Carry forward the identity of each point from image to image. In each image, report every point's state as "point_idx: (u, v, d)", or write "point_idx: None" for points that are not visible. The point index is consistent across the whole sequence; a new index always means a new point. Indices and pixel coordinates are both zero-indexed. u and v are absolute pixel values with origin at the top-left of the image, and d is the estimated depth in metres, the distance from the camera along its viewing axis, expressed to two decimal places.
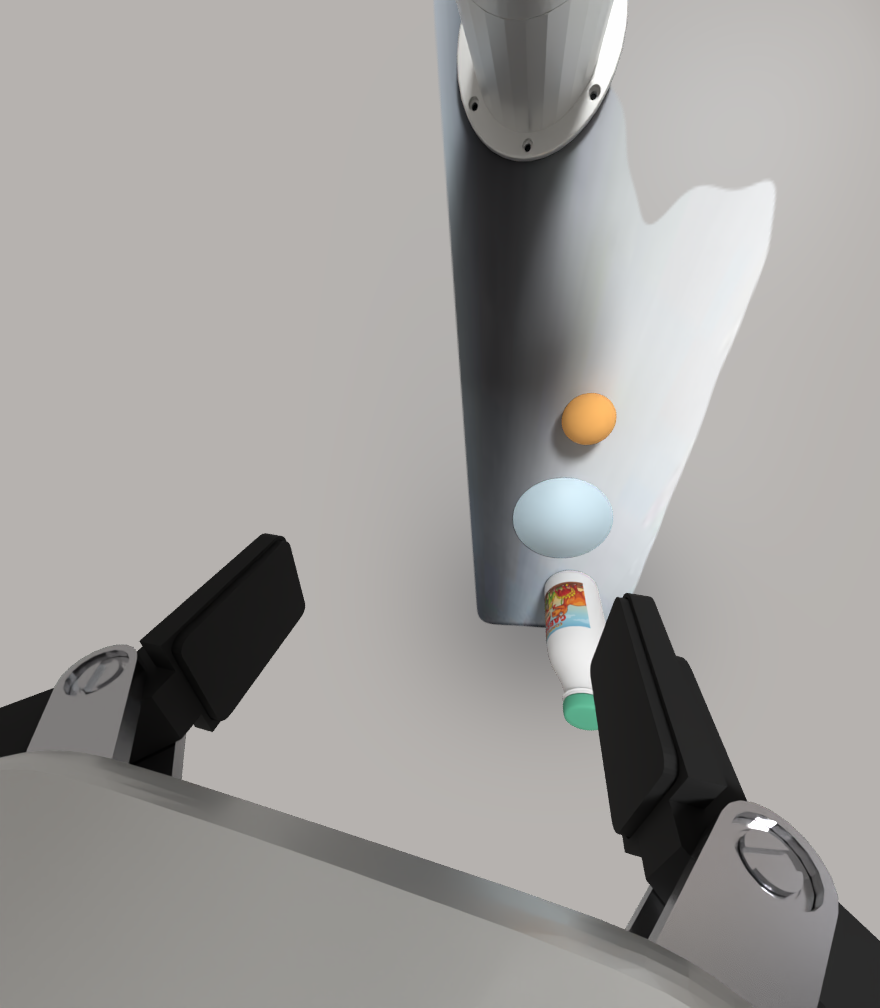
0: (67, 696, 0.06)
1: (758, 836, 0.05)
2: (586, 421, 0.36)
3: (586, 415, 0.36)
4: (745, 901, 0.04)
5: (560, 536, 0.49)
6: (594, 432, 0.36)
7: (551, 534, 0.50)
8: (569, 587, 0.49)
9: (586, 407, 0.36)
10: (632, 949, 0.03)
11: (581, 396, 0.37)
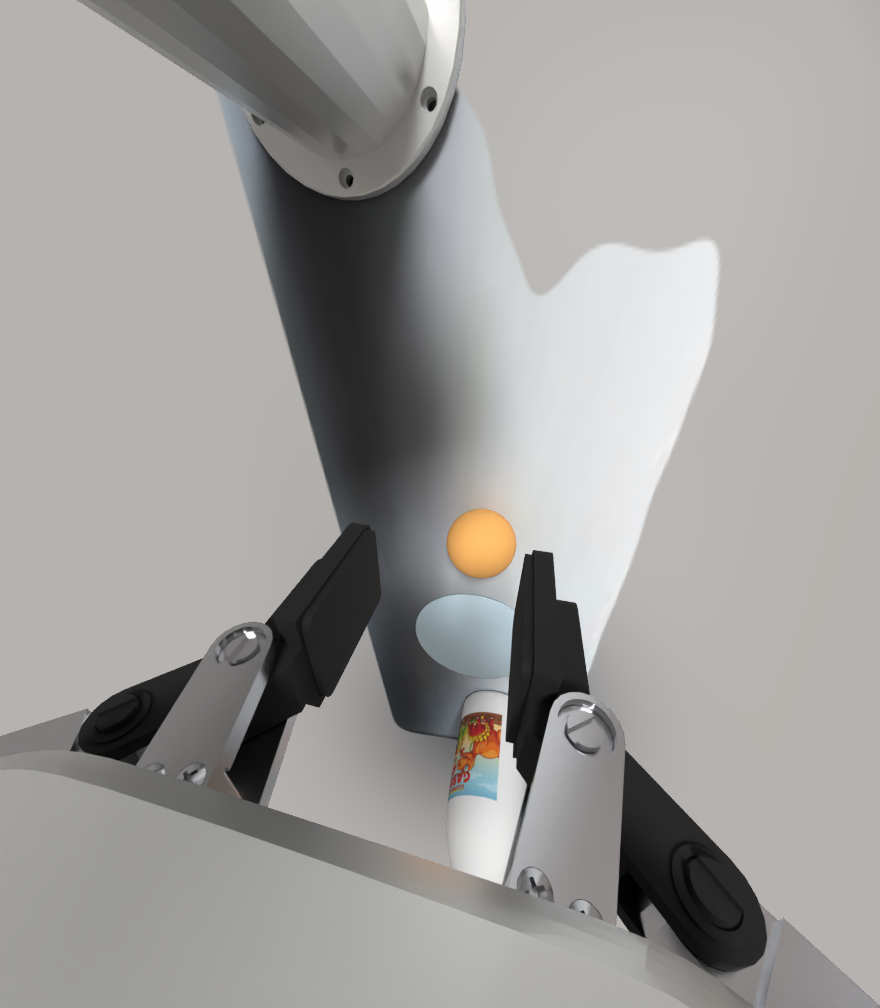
0: (220, 666, 0.07)
1: (575, 716, 0.06)
2: (468, 557, 0.26)
3: (468, 549, 0.26)
4: (573, 770, 0.05)
5: (474, 655, 0.39)
6: (481, 570, 0.26)
7: (464, 652, 0.39)
8: (485, 721, 0.39)
9: (469, 538, 0.26)
10: (632, 950, 0.03)
11: (467, 516, 0.27)
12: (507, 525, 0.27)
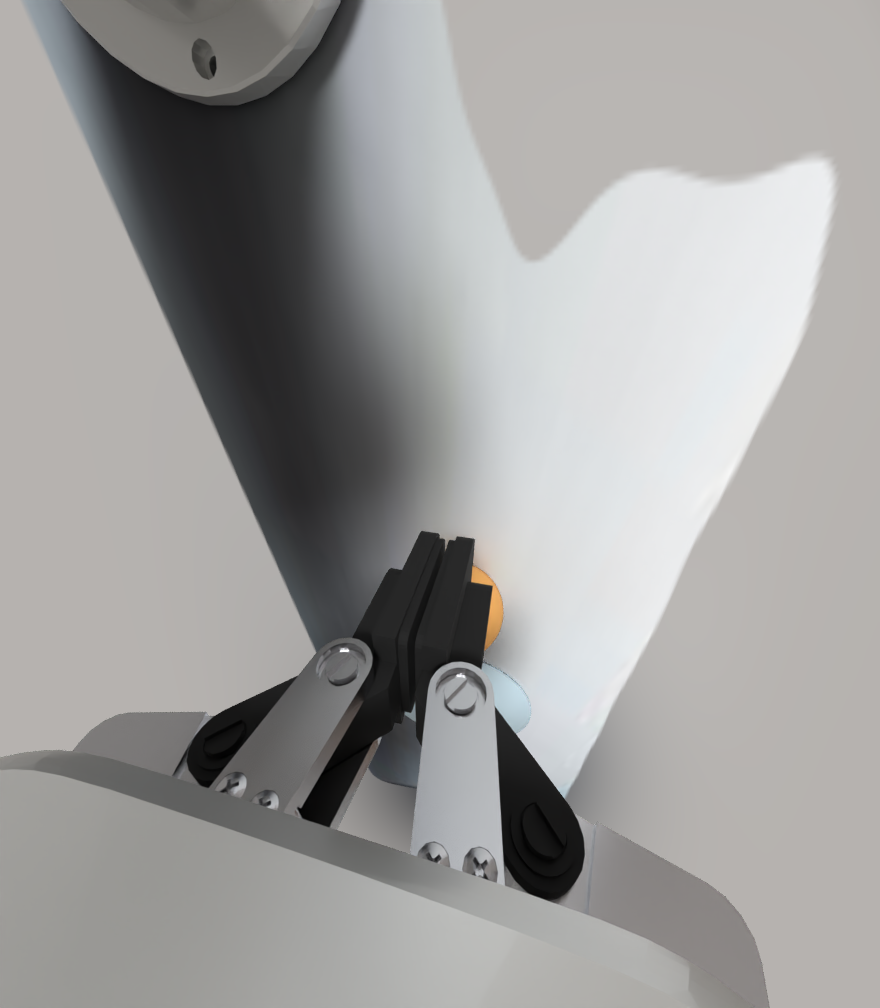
0: (325, 686, 0.06)
1: (451, 685, 0.07)
2: None
3: None
4: (454, 735, 0.06)
5: None
6: None
7: None
8: None
9: None
10: (632, 950, 0.03)
11: None
12: None
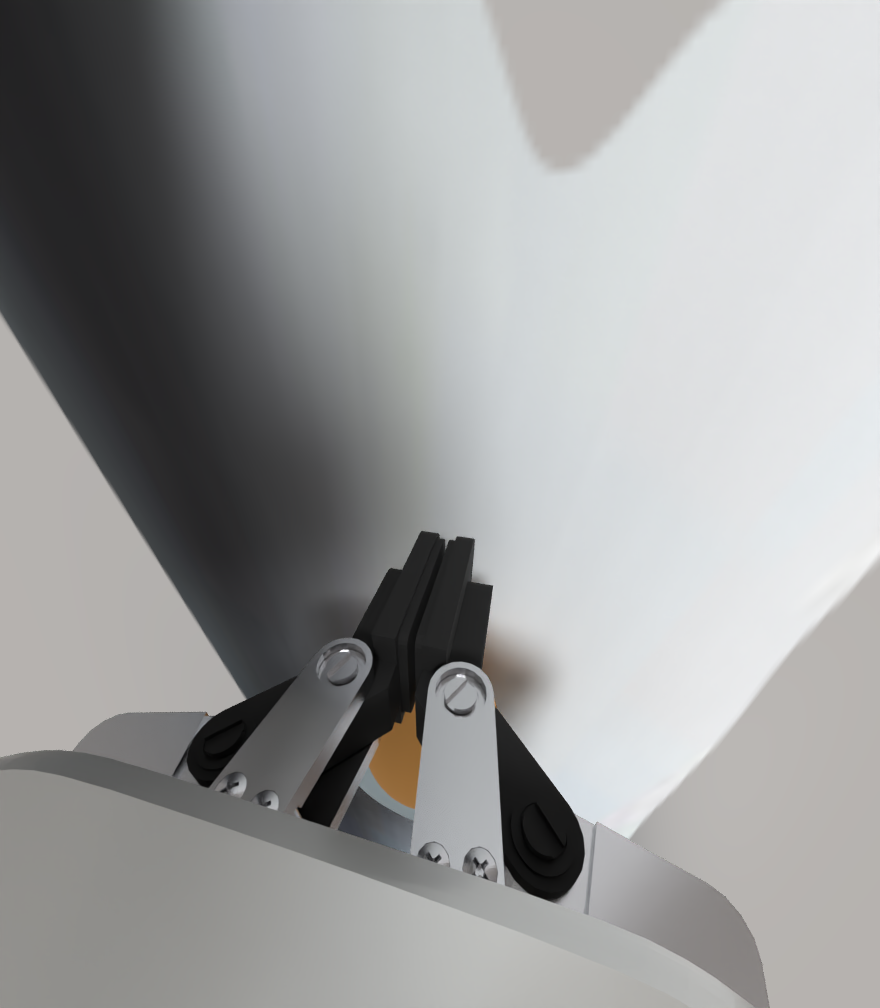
0: (325, 687, 0.06)
1: (451, 685, 0.07)
2: (395, 787, 0.12)
3: (393, 772, 0.12)
4: (454, 735, 0.06)
5: None
6: None
7: None
8: None
9: (395, 749, 0.12)
10: (632, 950, 0.03)
11: None
12: None
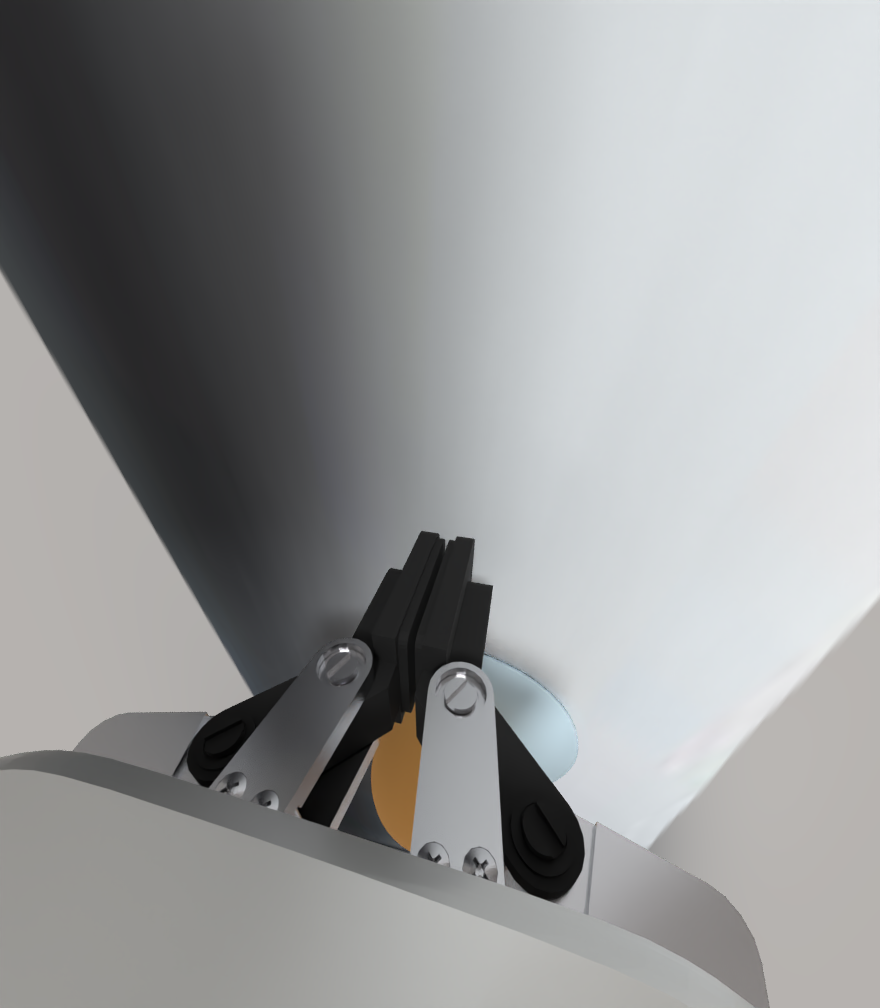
0: (325, 687, 0.06)
1: (451, 685, 0.07)
2: None
3: None
4: (454, 736, 0.06)
5: None
6: None
7: None
8: None
9: None
10: (632, 949, 0.03)
11: None
12: None
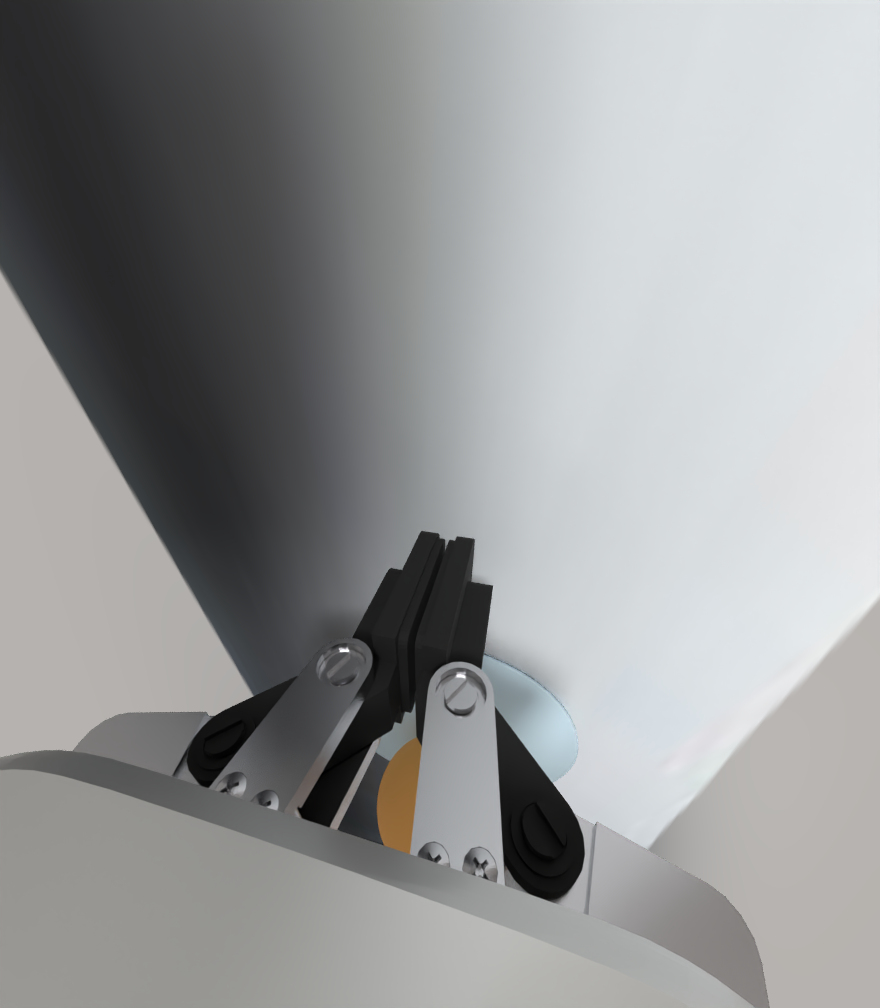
0: (325, 687, 0.06)
1: (451, 685, 0.07)
2: (407, 845, 0.15)
3: (407, 828, 0.15)
4: (454, 735, 0.06)
5: None
6: None
7: None
8: None
9: (410, 805, 0.15)
10: (631, 950, 0.03)
11: (413, 753, 0.17)
12: None
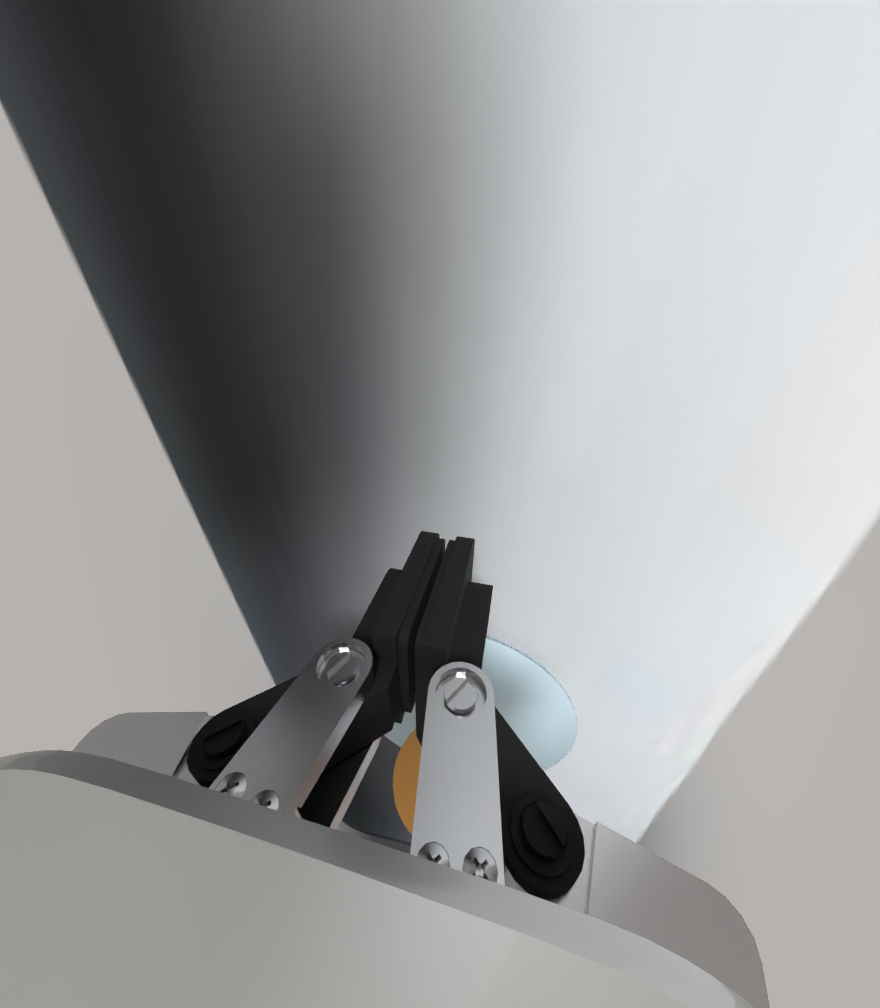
0: (326, 686, 0.06)
1: (451, 685, 0.07)
2: None
3: None
4: (454, 735, 0.06)
5: None
6: None
7: None
8: None
9: None
10: (632, 949, 0.03)
11: None
12: None
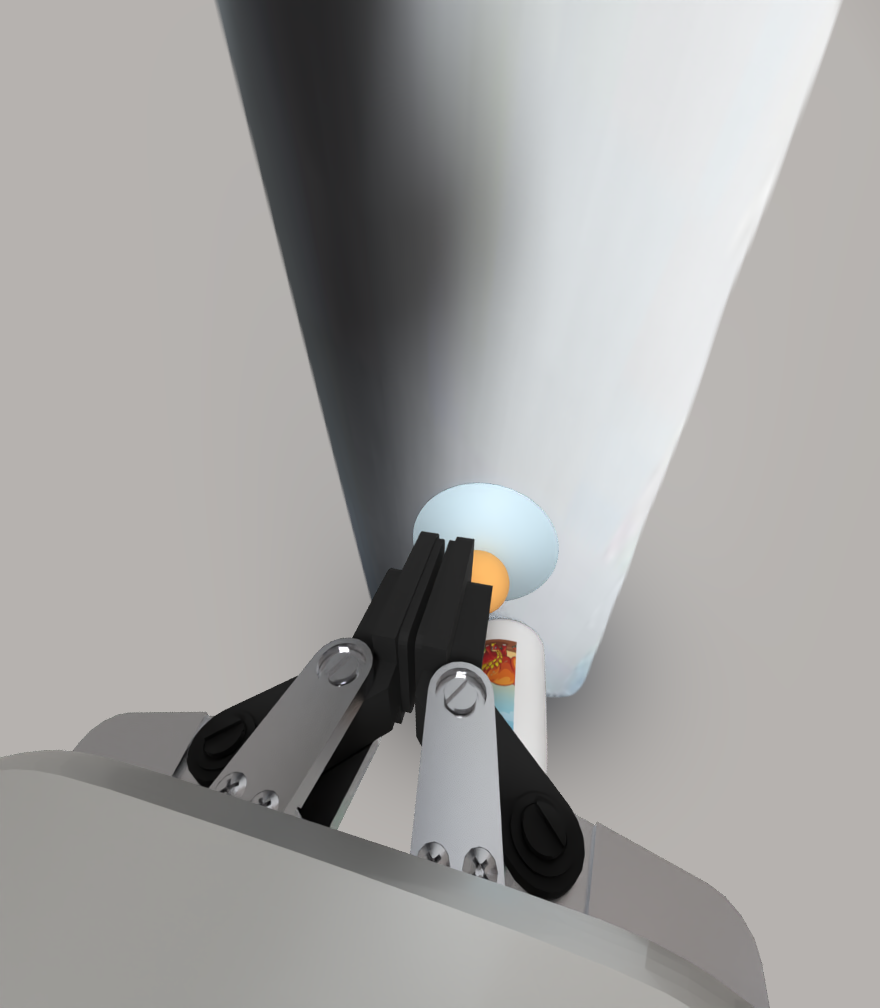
0: (325, 686, 0.06)
1: (451, 685, 0.07)
2: None
3: None
4: (454, 736, 0.06)
5: None
6: None
7: None
8: (496, 648, 0.32)
9: None
10: (632, 949, 0.03)
11: None
12: (501, 563, 0.30)
